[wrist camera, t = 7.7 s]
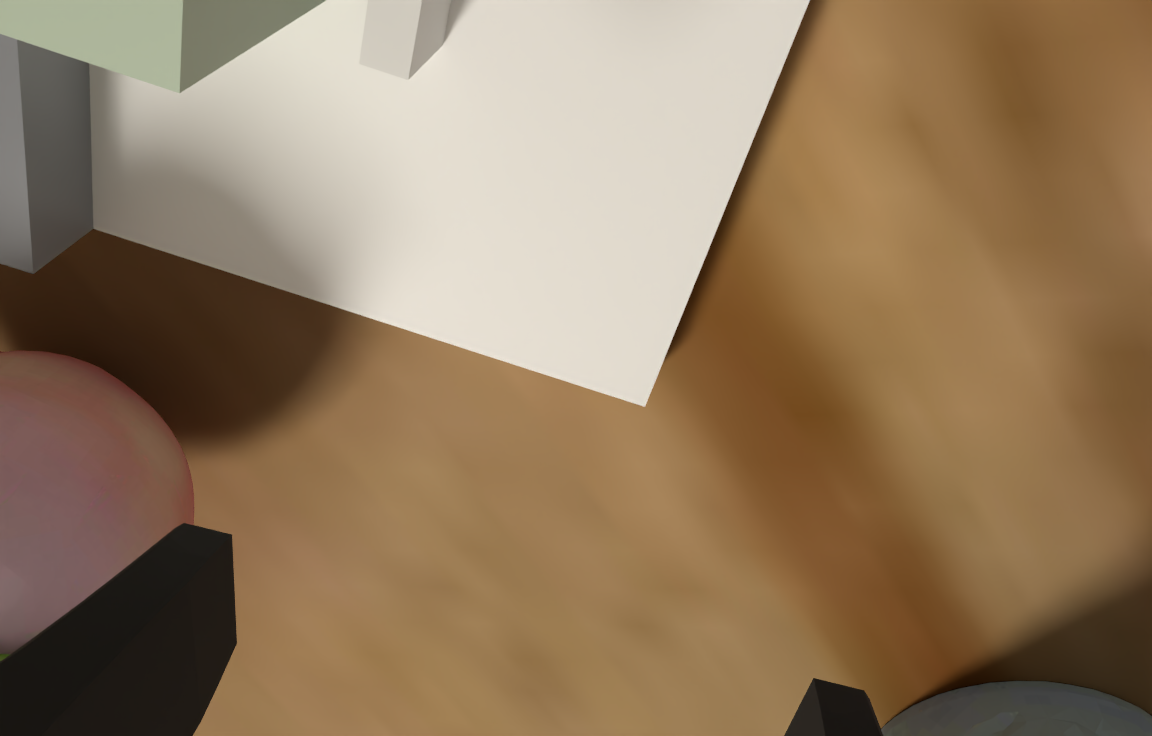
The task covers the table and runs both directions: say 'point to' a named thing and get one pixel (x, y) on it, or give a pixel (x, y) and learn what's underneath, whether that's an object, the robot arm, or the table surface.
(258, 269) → the shelf board
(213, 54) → the carton
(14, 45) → the rail
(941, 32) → the table surface
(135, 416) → the decorative fruit
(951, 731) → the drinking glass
